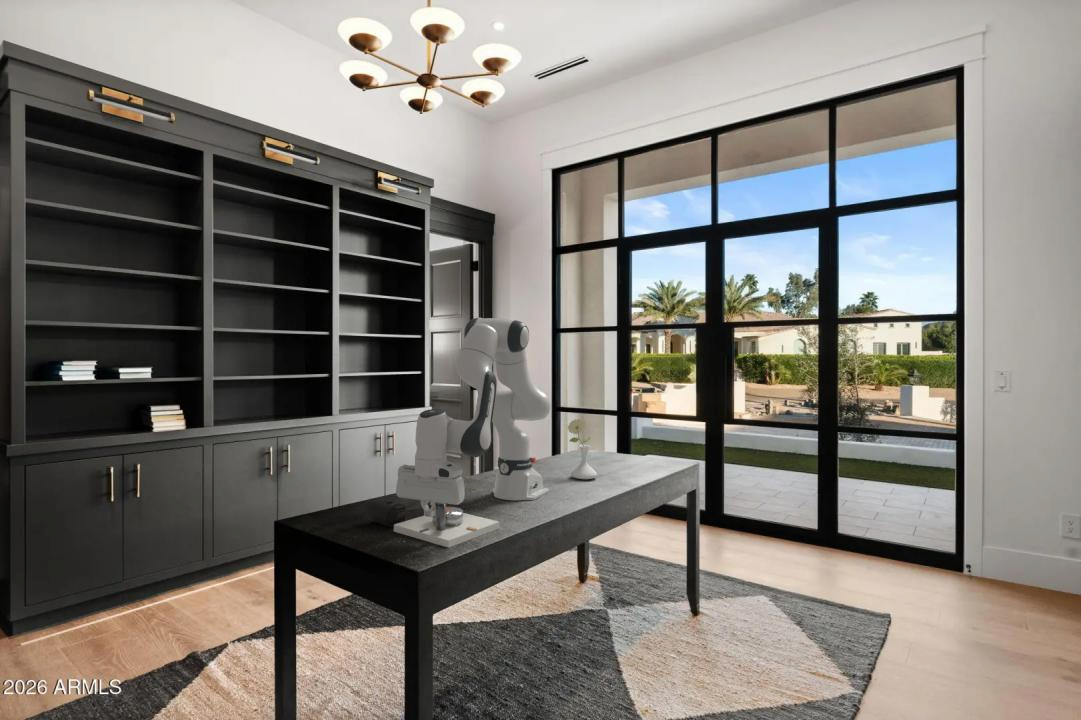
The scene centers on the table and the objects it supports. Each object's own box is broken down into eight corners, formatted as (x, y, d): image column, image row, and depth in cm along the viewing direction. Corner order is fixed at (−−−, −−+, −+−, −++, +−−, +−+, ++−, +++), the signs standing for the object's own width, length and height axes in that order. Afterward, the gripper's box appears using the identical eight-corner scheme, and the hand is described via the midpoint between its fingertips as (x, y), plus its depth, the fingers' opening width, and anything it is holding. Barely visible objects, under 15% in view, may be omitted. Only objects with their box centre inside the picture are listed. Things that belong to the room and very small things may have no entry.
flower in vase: (597, 476, 255) (599, 418, 254) (596, 482, 244) (598, 421, 243) (567, 474, 257) (569, 416, 256) (564, 480, 246) (566, 420, 245)
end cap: (365, 524, 181) (366, 502, 181) (385, 518, 187) (385, 497, 186) (386, 531, 175) (387, 508, 175) (405, 525, 181) (406, 503, 180)
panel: (446, 514, 192) (446, 507, 192) (499, 528, 180) (499, 520, 180) (393, 531, 174) (393, 523, 174) (448, 547, 162) (448, 538, 162)
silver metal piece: (435, 516, 182) (436, 490, 181) (465, 517, 181) (465, 491, 181) (423, 532, 166) (424, 504, 166) (455, 533, 166) (456, 505, 165)
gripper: (392, 465, 168) (390, 514, 168) (457, 473, 161) (456, 523, 161) (404, 462, 174) (402, 509, 174) (467, 468, 167) (466, 517, 167)
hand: (429, 516), depth 168 cm, fingers closed
